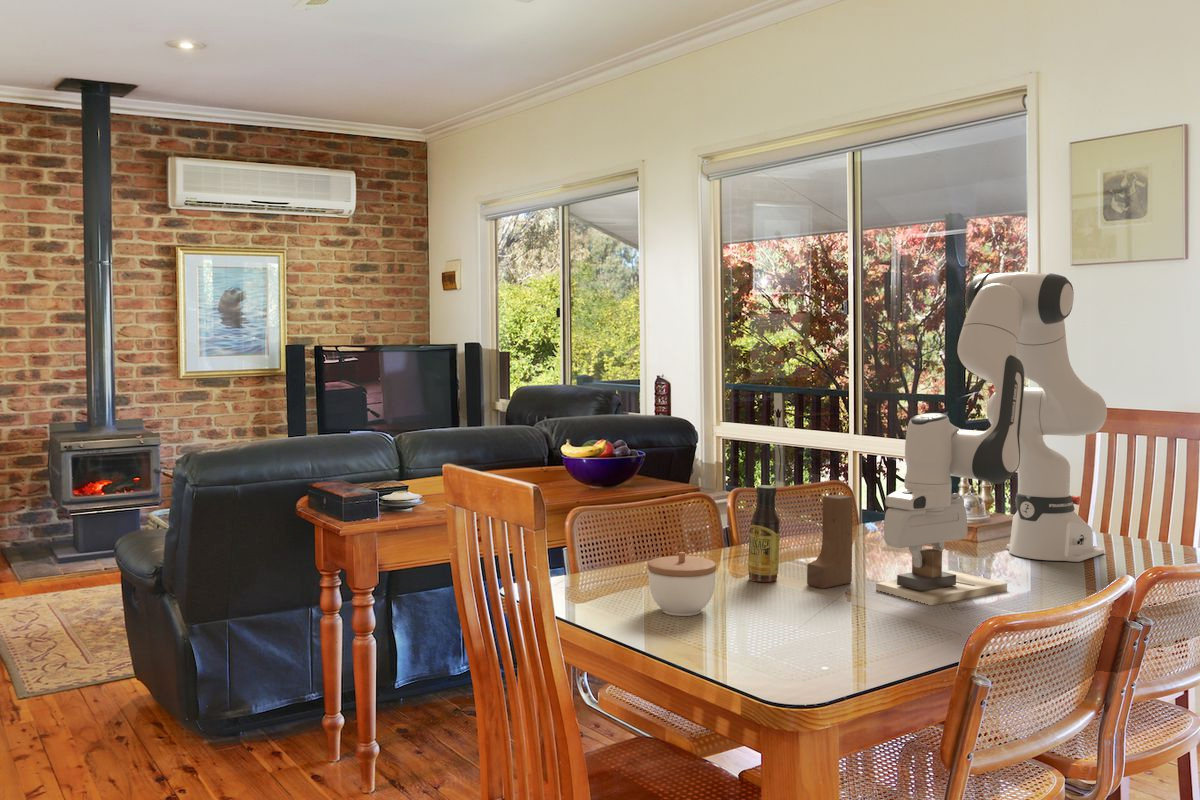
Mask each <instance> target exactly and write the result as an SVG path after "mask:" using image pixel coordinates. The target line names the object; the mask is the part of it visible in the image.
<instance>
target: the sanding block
mask: <svg viewBox="0 0 1200 800" xmlns="http://www.w3.org/2000/svg"><path fill="white" fill-rule="evenodd" d="M920 553H921V556H922V558H925V566H924V567H920V568H918V567H914V566H913V557H912V556H911V558H912V559H911V572H906V573H900V574H896V577H897V578H896V580H897V585H900V586H904V587H907V588H911V589H915V590H919V591H923V590H929V589H935V588H941V587H946V586H952V585H956V575H955V574H951V573H946V572H943V551H939V550H934V549H933V548H930V547H929V548H928V547H924V546H922V550H921V551H920Z"/></svg>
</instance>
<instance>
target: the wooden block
mask: <svg viewBox="0 0 1200 800" xmlns="http://www.w3.org/2000/svg"><path fill="white" fill-rule="evenodd" d="M853 503H854V502H853V497H852V496H849V495H842V494H830V495H824V496H822V519H821V520H822V525H821V526H822V529H821V530H822V533H821V534H822V535H821V536H822V537H821V539H822V542H821V544H822V545H821V549H820V553H819V554H818V556H817V558H816V560H813V561H811V562H809V563H807V565H806V568H807V569H806V585H808V586H810V587H813V588H818V589H822V590H823V589H827V588H828V589H829V588H833V587H839V586H843V585H847V584H851V583H852V582H853V579H852V577H853Z"/></svg>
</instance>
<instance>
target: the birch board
mask: <svg viewBox="0 0 1200 800" xmlns="http://www.w3.org/2000/svg"><path fill="white" fill-rule="evenodd" d="M942 572H946V573H951V574H955V575H956V585H952V586H946V587H941V588H935V589H929V590H923V591H919V590H915V589H911V588H907V587H904V586H900V585H897V579H891V580H887V581H880V582H876V583H875V591H876V590H878V591H877V592H880V591H882V592H881V593H883V592H886V593H885V594H887V593H889V594H888V595H891V594H894V595H897V596H896V597H898V596H901V597H900V598H902V597H905V598H907V599H906V600H909V599H911V600H910V601H913V600H914V601H913V602H916V601H918V602H917V603H920V602H921V604H924V603H925V604H924V605H927V604H928V606H937V605H941V604H947V603H950V602H951V603H952V602H956V601H962V600H966V599H972V598H977V597H980V596H986V595H991V594H992V595H993V594H997V593H1003V592H1007V591H1008V582H1004V581H999V580H995V579H990V578H987V577H986V578H985V577H982V576H978V575H973V574H968V573H964V572H960V571H957V570H951V569H950V570H944V571H943V570H942ZM894 595H893V596H894ZM905 598H904V599H905Z"/></svg>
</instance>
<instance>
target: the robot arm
mask: <svg viewBox="0 0 1200 800" xmlns="http://www.w3.org/2000/svg"><path fill="white" fill-rule="evenodd" d="M968 283H969V284H968V285H967V287H966V291H965V299H964V300H965V301H964V302H965V306H966V309H967V314H966V315H965V319H964V320H963V325H962V328H961V331H960V334H959V336H958V337H959V339H958V343H957V349H956V350H957V351H956V352H957V355H958V358H959V361H960V362H961V364H962V365H963V367H965V368H966V369H967V371H969V372H970V373H971V374H973V375H975V376H976V377H978V378H981V379H982V380H984V381H987V382H988V383H991V384H992V385H993V388H994V392H993V393H992V394H991V396H990V397H989V399H988V401H987V404H986V415H987V416H986V417H987V420H988V422H989V423H990V427H989V428H988V429H986V430H974V429H973V430H972V429H965V428H960V427H958V426H955V425H954V424H953V423H951V421H950V417H949V416H948V415H947V414H944V413H939V412H928V413H921V414H917V415H914V416H913V417H911V418H910V420H909V422H908V424H907V429H906V434H905V443H904V460H905V463H906V464H905V465H906V472H905V475H904V485H903V486H901V487H899V488H898V489H896V490H895V491H893V492H891V493H890V494H889V493H888V495H886V496H885V501H884V503H885V506H886V507H888V509H886V510H885V511H886V512H885V514H884V522H883V523H884V525H883V527H884V528H883V537H884V538H883V539H884V542H885V544H886V545H887V547H892V548H896V549H905V548H908V551H909V553H910V555H911V558H912V557H913V566H914V567H918V568H920V567H924V566H925V558H922V556H921V553H920V551H921V550H922V547H923V546H924V545H925V546H926V545H931V547H932V549H934V550H939V551H942V552H943V551H944V549H945V548H946V547H945V546H946V545H945V544H946V543H945V542H952V541H953V542H954V541H959V540H964V539H966V538H967V535H968V529H969V528H968V516H967V510H966V506H965V500H964V499H965V498H963V497H962V495H961V494H959V493H958V492H954V493H952V477H958V478H963V479H972V480H978V481H982V482H986V483H990V484H995V485H999V484H1000V485H1001V484H1003V483H1004V482H1006V481H1008V480H1009V479H1010V478H1011V477H1012V476H1013V475H1015V473H1016V472H1017V492H1016V493H1015V499H1014V502H1015V508H1016V513H1015V514H1014V515H1013V517H1012V523H1011V532H1010V539H1009V543H1007V544H1006V547H1005V548H1006V549H1007V550H1009V551H1008V552H1009V554H1010V555H1012V556H1016V557H1020V558H1026V559H1032V560H1040V561H1056V562H1057V561H1063V562H1074V563H1075V562H1078V563H1079V562H1082V561H1085V560H1088V559H1091V558H1094V557H1097V556H1100V555H1103V554H1105V549H1104V548H1101V547H1099V546H1096V545H1094V535H1093V534H1094V533H1093V529H1092V527H1091V526H1090V525H1089V524H1088V523H1087V522H1086V521H1084V520H1083V518H1081V516H1080V515H1079V514H1077V512H1075V506H1074V505H1077V506H1079V505H1081V503H1082V500H1083V499H1082V497H1081V496H1079V495H1077V496H1076V495H1071V494H1070V487H1071V485H1070V484H1071V465H1070V463H1069V461H1068V459H1067V458H1066V457H1065V456H1064V455H1063V454H1061V453H1059V452H1058V451H1056V450H1054V449H1053V448H1051V447H1048V446H1047V445H1046V443H1045V441H1044V437H1043V436H1061V437H1062V436H1063V437H1064V436H1065V437H1078V436H1080V437H1081V436H1087V435H1093V434H1097V433H1098V432H1099V431H1100V430H1101V429H1102V428H1103V426H1104V425H1105V423H1106V421H1107V417H1108V408H1107V404H1106V402H1105V400H1104V398H1103V396H1102V395H1101V394H1100V393H1099V392H1098V391H1095V390H1094V389H1093V388H1090V386H1088V385H1086V384H1085V383H1084V382H1083V381H1082V380H1081V379H1080V378H1079V376H1078V375H1077V374H1076V373H1075V371H1074V369H1073V367H1072V366H1071V365H1072V364H1071V362H1070V357H1069V353H1068V352H1069V351H1068V345H1067V337H1066V333H1067V332H1066V324H1065V319H1066V318H1067V317H1068V316H1070V313H1071V312H1072V309H1073V305H1074V301H1075V300H1074V298H1075V297H1074V296H1075V295H1074V294H1075V293H1074V287H1073V285H1072V282H1070V281H1069V279H1068V278H1067V277H1066V276H1063V275H1060V274H1055V273H1048V274H1047V273H1042V272H1041V273H1040V272H1032V271H1018V272H1000V273H999V272H997V273H994V272H986V273H981V274H978V275H976V276H975V277H974V278H972V279H971V280H970V281H969V282H968ZM1025 378H1026V379H1028V380H1030V381H1032V382H1034V383H1036V384H1037V385H1038V386H1039V387H1038V386H1036V387H1034V386H1033V387H1032V386H1031V387H1030V386H1025Z"/></svg>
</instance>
